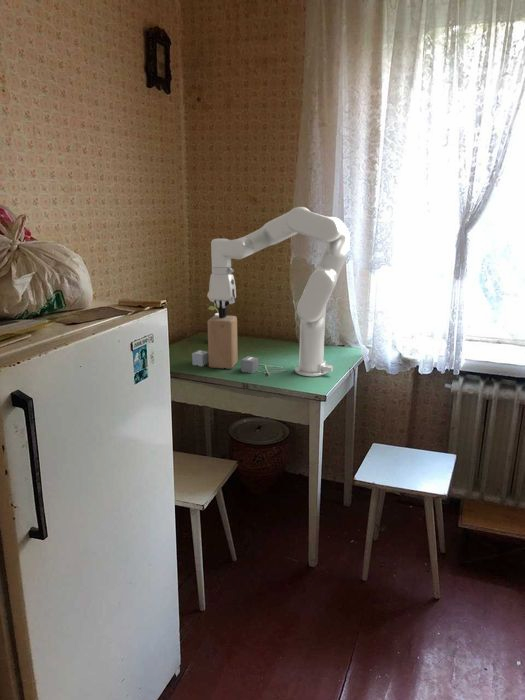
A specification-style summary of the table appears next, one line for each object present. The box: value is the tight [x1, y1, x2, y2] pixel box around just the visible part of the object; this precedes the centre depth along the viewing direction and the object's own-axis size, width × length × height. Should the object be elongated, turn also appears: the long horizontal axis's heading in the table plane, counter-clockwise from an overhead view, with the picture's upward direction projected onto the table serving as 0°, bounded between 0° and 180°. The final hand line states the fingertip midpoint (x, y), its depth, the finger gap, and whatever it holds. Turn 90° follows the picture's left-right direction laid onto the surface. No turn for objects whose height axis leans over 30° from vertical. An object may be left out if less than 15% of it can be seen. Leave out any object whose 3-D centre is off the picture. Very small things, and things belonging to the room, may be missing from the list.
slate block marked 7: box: [191, 349, 209, 367], centre depth 215 cm, size 5×5×5 cm
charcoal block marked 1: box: [240, 355, 260, 374], centre depth 207 cm, size 5×5×5 cm
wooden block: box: [207, 314, 239, 370], centre depth 211 cm, size 10×10×20 cm
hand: (222, 317), depth 208 cm, fingers closed
